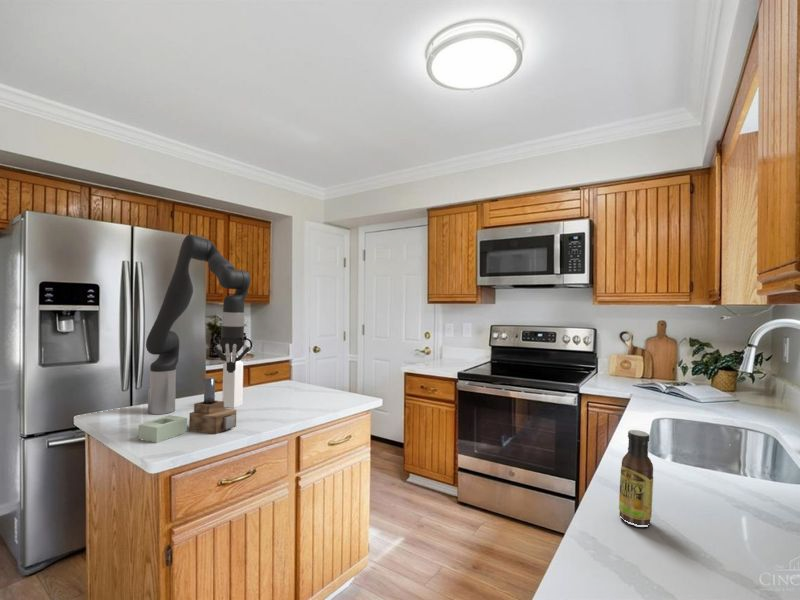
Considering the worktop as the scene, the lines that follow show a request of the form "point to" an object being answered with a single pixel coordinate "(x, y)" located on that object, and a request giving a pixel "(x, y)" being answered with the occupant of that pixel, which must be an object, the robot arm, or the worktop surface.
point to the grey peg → (209, 390)
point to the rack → (162, 428)
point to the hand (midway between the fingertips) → (230, 372)
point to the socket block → (209, 417)
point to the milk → (233, 386)
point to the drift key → (228, 421)
